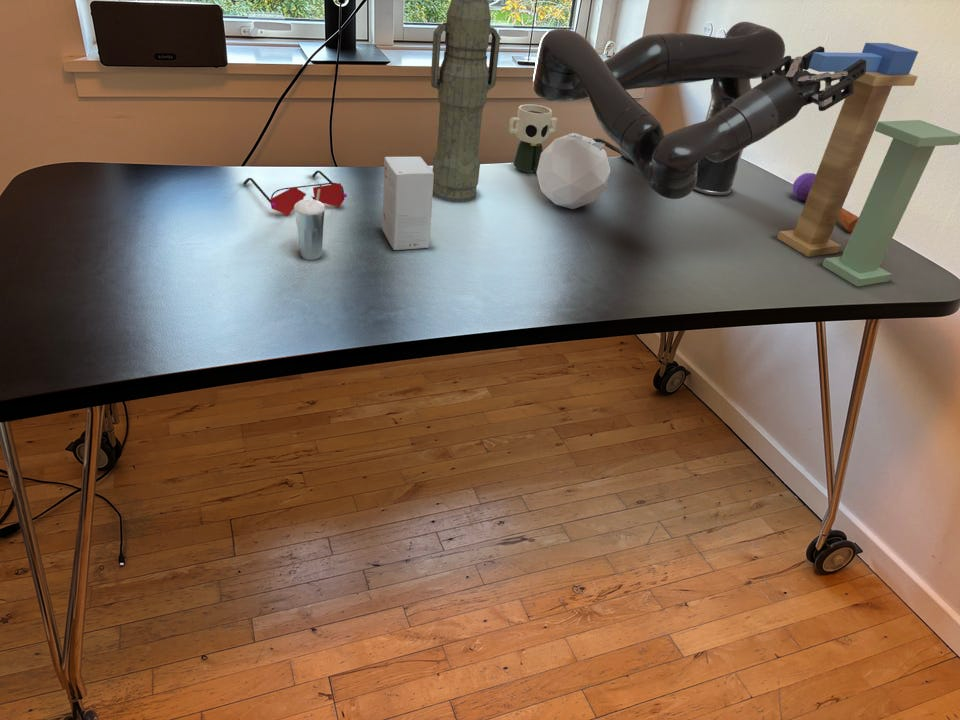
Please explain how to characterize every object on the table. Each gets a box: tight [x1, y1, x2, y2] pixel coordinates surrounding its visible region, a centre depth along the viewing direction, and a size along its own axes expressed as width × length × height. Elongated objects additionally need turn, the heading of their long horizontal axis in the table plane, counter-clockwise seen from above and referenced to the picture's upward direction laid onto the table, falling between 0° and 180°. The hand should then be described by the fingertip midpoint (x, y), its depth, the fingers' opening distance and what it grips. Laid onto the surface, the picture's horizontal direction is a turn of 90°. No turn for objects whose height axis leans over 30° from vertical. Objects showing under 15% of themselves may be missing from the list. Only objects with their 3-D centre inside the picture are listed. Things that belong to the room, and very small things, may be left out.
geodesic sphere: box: [535, 132, 612, 210], centre depth 137 cm, size 15×14×14 cm
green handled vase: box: [430, 0, 501, 203], centre depth 130 cm, size 9×12×35 cm
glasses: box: [242, 170, 348, 216], centre depth 129 cm, size 14×16×5 cm
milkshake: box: [293, 189, 326, 261], centre depth 110 cm, size 4×5×10 cm
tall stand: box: [776, 72, 918, 258], centre depth 126 cm, size 10×8×32 cm
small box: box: [381, 156, 434, 251], centre depth 117 cm, size 8×6×13 cm
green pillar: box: [822, 119, 960, 288], centre depth 120 cm, size 10×8×26 cm
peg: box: [809, 42, 919, 75], centre depth 114 cm, size 18×6×4 cm, turn 114°
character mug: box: [508, 103, 558, 173], centre depth 151 cm, size 11×7×13 cm, turn 109°
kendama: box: [792, 172, 859, 234], centre depth 150 cm, size 6×6×20 cm
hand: (843, 58), depth 113 cm, fingers open, 8 cm apart
